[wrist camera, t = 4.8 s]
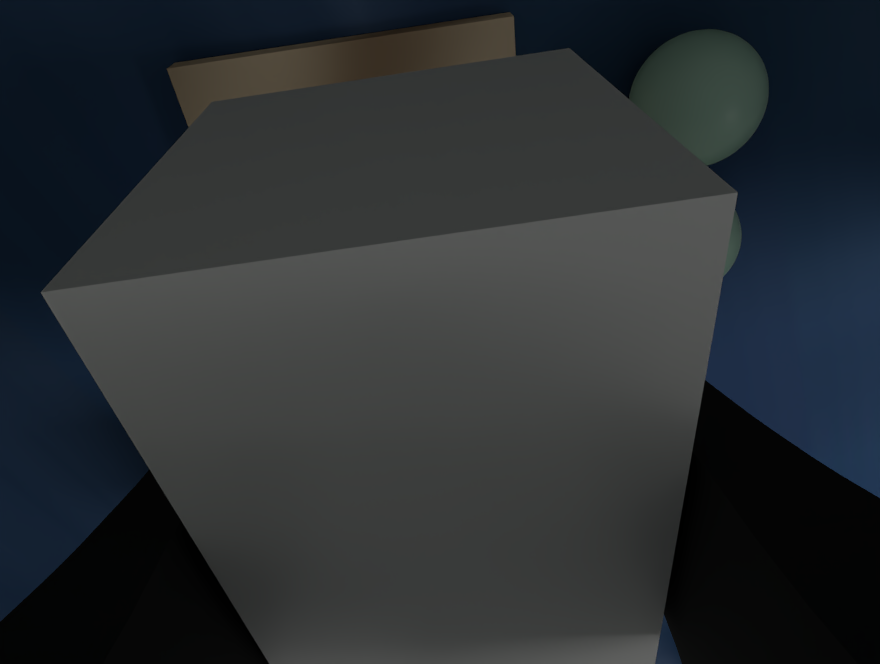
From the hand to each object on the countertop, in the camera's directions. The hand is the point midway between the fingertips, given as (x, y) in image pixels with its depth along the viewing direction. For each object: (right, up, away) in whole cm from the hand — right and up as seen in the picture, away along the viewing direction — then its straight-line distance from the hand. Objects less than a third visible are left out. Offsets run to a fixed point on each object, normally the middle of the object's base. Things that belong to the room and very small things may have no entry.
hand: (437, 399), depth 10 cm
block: (0, +1, +1) cm, 2 cm away
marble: (+6, +7, +6) cm, 11 cm away
